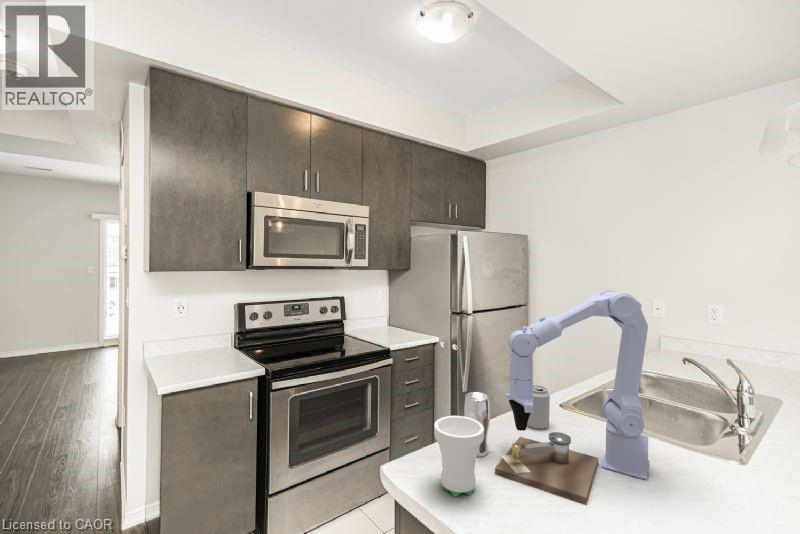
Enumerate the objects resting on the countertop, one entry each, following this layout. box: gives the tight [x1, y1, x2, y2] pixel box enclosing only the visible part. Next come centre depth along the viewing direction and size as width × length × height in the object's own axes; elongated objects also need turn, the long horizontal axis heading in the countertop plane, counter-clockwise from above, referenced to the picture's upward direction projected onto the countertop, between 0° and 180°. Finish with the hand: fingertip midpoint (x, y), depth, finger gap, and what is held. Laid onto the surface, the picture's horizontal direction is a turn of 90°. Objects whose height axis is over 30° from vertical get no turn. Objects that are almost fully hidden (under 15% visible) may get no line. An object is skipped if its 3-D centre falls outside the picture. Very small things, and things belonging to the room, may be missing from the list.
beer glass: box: [463, 391, 492, 458], centre depth 103 cm, size 7×7×15 cm
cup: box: [433, 415, 484, 497], centre depth 86 cm, size 11×11×14 cm
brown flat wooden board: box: [494, 436, 599, 506], centre depth 95 cm, size 21×20×2 cm
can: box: [527, 384, 551, 430], centre depth 119 cm, size 8×8×12 cm
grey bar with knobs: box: [511, 431, 572, 463], centre depth 95 cm, size 16×5×6 cm, turn 103°
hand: (520, 429), depth 99 cm, fingers closed
